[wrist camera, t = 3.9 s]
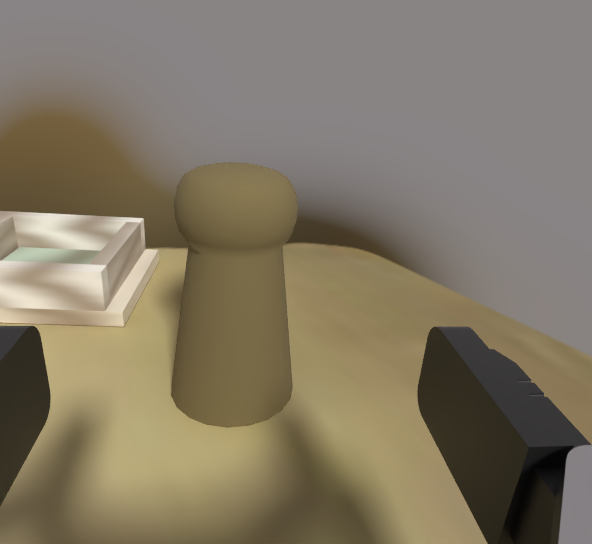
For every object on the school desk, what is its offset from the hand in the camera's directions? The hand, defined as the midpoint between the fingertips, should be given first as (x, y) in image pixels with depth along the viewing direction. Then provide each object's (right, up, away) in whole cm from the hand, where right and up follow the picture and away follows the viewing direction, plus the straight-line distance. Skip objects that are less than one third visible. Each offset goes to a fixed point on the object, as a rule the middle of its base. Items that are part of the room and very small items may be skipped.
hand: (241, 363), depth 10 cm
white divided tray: (-20, +1, +22) cm, 30 cm away
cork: (-2, -4, +14) cm, 15 cm away
